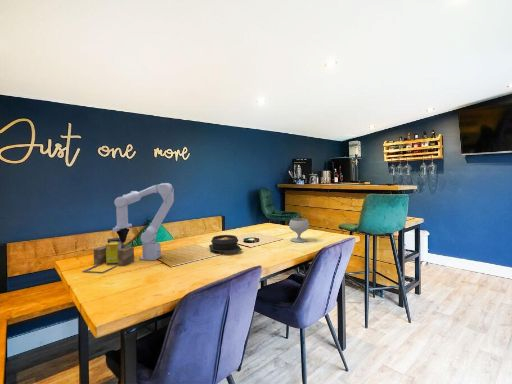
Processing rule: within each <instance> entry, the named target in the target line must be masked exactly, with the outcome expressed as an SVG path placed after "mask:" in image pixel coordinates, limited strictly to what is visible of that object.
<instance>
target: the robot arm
mask: <svg viewBox="0 0 512 384" xmlns="http://www.w3.org/2000/svg"><path fill="white" fill-rule="evenodd" d="M174 191H175V190H174V187H173V184H171V183H169V182H164V183H163V182H161V183H160V184H153V185H152V186H150V187H147V188H145V189H142V190H140V191H137V190H131V191H130V192H129V193H126V194H122V196H118V197H116V198H115V199H114V201H113V203H114V205H115V208H116V210H115V212H116V225H115V227H112V232H113V233H116V234H117V236H118V238H120V241H121V242H124V243H126V242H127V241H126V240H127V237H128V234H129V232H130V228H132V227H133V224H132V223H129V210H128V206H129V205H131V204H134V203H136V202H139V201H141V198H142V197H146V196H148V195H151V194H154V193H155V194H159V195H160V197H161V198H162V200H163V202H162V203H161V205H160V207H159V209H158V210H157V212H156V214H155V216H154V217H153V218H152V221H151V222H150V224H149V226H147V228H146V229H145V231H144V232H143V233H141V235H140V238H139V239H140V241H141V245H142V246H141V247H142V248H141V249H142V257H140V258H139V260H140V261H141V260H144V261H148V260H149V261H150V260H151V261H156V260H158V259H159V258H161V257H162V245H161V243H160V242H157V241H156V238H157V235H158V231H159V228H160V227H161V225H162V223H163V222H164V219H165V218H166V216H167V215H168V213H169V211H170V209H171V207H172V206H173V204H174V201H175V198H174V197H175V195H174Z"/></svg>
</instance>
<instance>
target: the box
mask: <svg viewBox="0 0 512 384" xmlns="http://www.w3.org/2000/svg"><path fill="white" fill-rule="evenodd" d="M106 240H107V244H108V243H109V242H121V241H120V238H119V237H113V238H111V237H110V238H107V239H106ZM124 243H125V242H121V248H125V246H124V245H125V244H124Z"/></svg>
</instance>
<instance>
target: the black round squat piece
mask: <svg viewBox="0 0 512 384" xmlns="http://www.w3.org/2000/svg"><path fill="white" fill-rule="evenodd" d="M210 242H211V244H209V245H208V247H209V250H211V251H213V252H216V253H223V254H224V253H225V254H226V253H227V254H229V253H231V254H232V253H236V252H240V251H242V248H241V247H240V246H239V245H238V243H239V238H238V236H236V235H233V234H232V235H231V234H220V235H214V236H213V237H212V239H211V240H210Z"/></svg>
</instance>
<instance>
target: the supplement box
mask: <svg viewBox="0 0 512 384" xmlns="http://www.w3.org/2000/svg"><path fill="white" fill-rule="evenodd" d="M105 246H106V261H107V262H106V265H107V266H108V265H110V266H111V265H118V250H120V249H122V248H121V242H109V243H108V242H107V243H106V244H105Z"/></svg>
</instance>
